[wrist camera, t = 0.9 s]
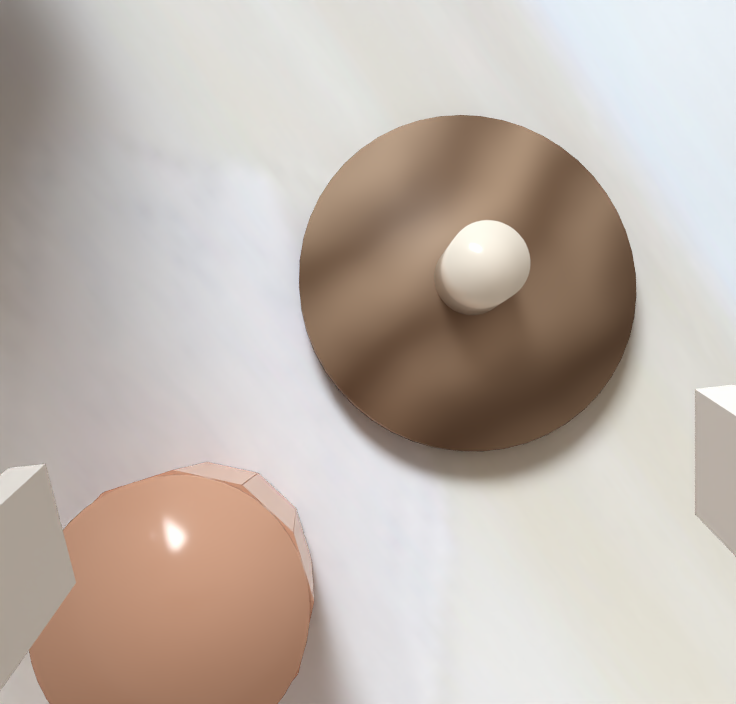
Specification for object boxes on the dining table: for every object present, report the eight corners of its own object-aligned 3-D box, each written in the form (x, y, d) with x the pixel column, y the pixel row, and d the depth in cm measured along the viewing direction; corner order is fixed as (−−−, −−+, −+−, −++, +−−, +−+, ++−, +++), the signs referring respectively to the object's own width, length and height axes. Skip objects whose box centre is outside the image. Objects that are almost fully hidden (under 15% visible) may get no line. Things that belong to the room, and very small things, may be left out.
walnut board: (228, 290, 40) (225, 284, 39) (450, 63, 43) (456, 50, 42) (481, 522, 40) (487, 525, 39) (687, 277, 43) (701, 272, 42)
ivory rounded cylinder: (418, 279, 40) (431, 262, 36) (467, 226, 41) (485, 203, 37) (474, 330, 40) (493, 318, 36) (523, 276, 40) (546, 259, 37)
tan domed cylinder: (63, 574, 38) (-35, 630, 27) (206, 424, 39) (168, 419, 28) (211, 712, 37) (173, 825, 27) (348, 556, 39) (365, 601, 28)
